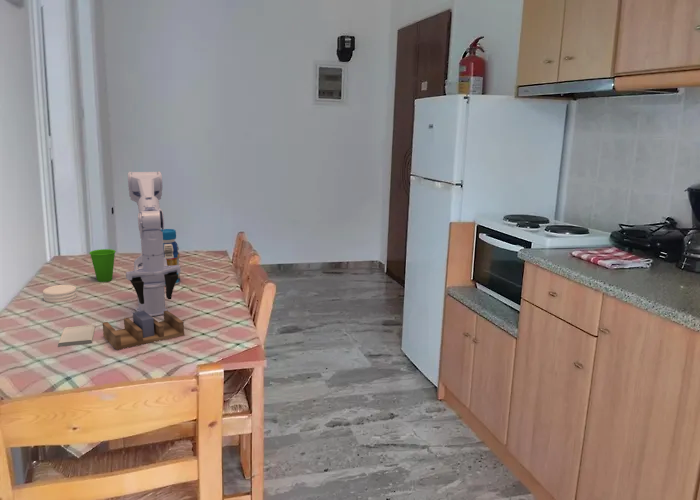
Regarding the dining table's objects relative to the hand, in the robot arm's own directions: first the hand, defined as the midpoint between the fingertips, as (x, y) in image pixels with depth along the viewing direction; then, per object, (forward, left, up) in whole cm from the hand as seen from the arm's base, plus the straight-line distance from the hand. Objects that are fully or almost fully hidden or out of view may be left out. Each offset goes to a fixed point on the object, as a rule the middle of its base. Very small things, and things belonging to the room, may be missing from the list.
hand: (155, 300), depth 157 cm
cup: (-63, +3, -10) cm, 64 cm away
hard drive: (-9, -19, -10) cm, 23 cm away
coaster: (-49, -15, -10) cm, 52 cm away
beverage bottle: (-46, +21, -10) cm, 52 cm away
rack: (+1, -4, -9) cm, 10 cm away
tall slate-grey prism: (+1, -4, -8) cm, 9 cm away
